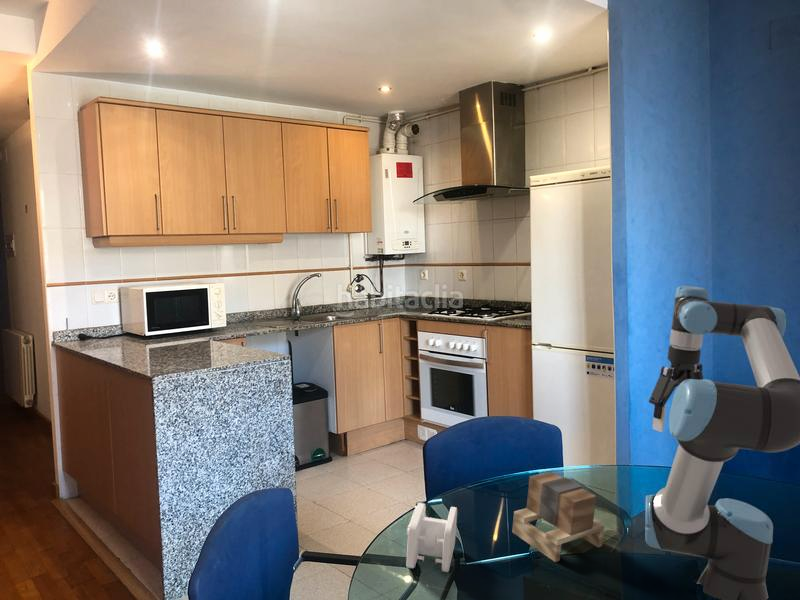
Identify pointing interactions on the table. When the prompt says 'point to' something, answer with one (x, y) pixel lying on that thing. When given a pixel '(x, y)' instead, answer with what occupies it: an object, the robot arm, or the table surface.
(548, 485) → the wooden block with band
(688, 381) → the robot arm
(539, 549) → the wooden bar frame
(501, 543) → the table surface
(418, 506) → the cable organizer
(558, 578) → the table surface
